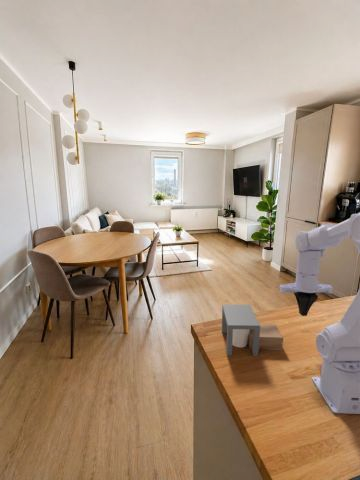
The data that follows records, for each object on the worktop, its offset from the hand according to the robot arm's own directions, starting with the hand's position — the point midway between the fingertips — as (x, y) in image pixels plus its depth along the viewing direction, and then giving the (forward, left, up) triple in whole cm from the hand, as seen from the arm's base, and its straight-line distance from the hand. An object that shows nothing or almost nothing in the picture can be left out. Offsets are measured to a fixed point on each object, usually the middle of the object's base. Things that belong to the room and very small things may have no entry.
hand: (302, 314), depth 71 cm
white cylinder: (0, +19, -10) cm, 21 cm away
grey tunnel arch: (0, +19, -10) cm, 21 cm away
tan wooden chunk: (0, +11, -10) cm, 15 cm away
